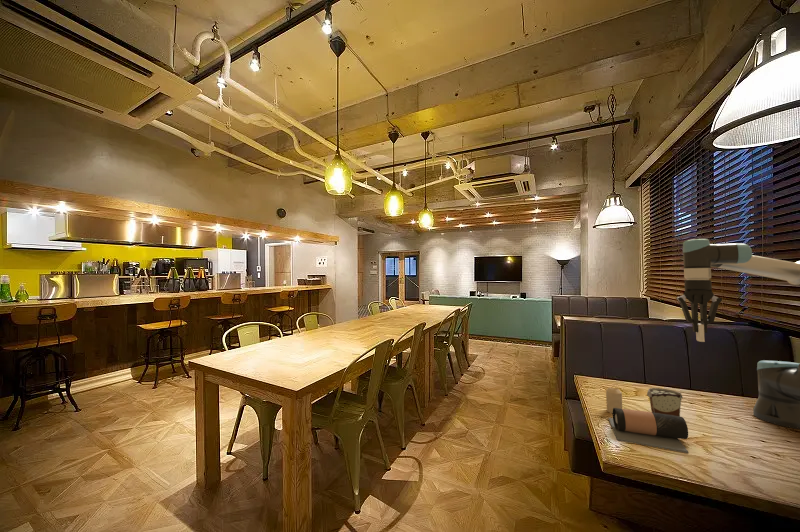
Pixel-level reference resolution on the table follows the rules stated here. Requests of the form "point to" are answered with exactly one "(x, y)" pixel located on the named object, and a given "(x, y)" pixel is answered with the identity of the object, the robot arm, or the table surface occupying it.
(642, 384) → the table surface
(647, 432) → the travel mug
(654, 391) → the food container
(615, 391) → the candle
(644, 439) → the mat
